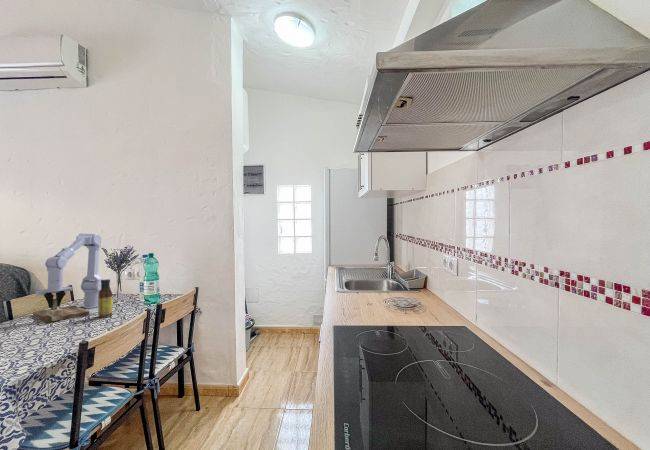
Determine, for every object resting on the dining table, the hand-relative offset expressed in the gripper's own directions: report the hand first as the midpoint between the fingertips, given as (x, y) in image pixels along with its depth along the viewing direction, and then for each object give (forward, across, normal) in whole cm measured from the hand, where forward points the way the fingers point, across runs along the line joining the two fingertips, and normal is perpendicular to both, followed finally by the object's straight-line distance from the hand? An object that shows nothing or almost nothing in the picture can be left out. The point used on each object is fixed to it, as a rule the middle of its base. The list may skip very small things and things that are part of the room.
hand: (54, 307), depth 160 cm
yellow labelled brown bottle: (+7, -17, +14) cm, 23 cm away
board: (+6, -5, -6) cm, 10 cm away
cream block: (+6, 0, +1) cm, 6 cm away
